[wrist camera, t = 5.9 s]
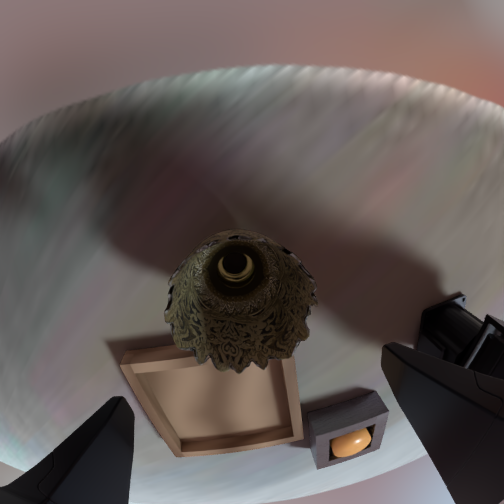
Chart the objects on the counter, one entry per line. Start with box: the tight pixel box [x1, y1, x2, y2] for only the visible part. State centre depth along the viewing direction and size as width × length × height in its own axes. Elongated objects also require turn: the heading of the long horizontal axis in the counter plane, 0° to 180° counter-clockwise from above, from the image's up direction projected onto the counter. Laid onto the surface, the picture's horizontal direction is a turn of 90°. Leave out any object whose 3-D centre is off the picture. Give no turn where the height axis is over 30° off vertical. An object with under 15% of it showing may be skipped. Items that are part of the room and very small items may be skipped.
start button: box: [329, 427, 371, 457], centre depth 25 cm, size 4×4×2 cm
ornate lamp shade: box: [164, 229, 318, 374], centre depth 17 cm, size 8×7×8 cm
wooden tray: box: [120, 345, 304, 457], centre depth 23 cm, size 14×14×2 cm
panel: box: [308, 391, 389, 470], centre depth 26 cm, size 8×8×4 cm
